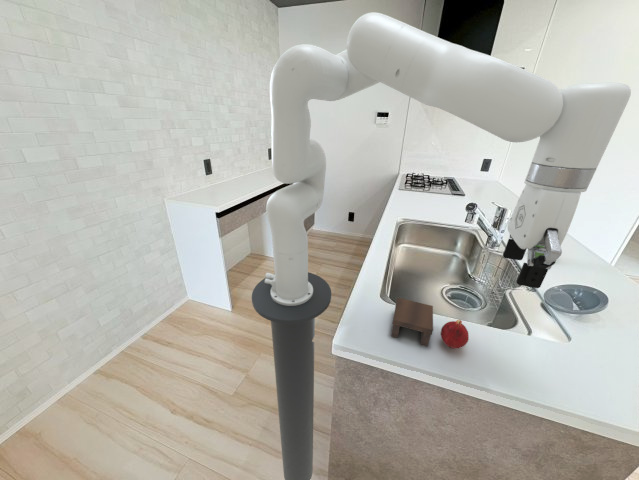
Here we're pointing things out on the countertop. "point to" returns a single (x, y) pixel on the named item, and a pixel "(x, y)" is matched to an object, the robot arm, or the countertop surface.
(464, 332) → the onion
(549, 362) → the countertop surface
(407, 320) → the stand
